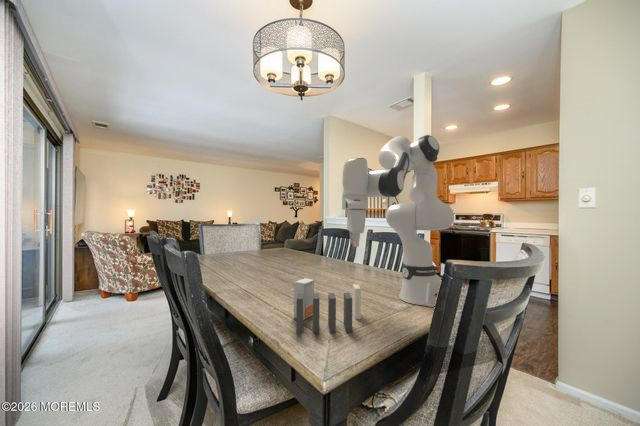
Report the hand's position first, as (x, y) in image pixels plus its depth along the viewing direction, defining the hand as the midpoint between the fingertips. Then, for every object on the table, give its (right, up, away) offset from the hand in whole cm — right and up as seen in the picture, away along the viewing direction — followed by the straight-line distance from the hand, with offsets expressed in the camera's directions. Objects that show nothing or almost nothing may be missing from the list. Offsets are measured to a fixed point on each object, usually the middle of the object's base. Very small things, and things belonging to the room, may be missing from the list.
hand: (354, 245), depth 87 cm
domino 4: (-3, -24, -11) cm, 26 cm away
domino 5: (+1, -24, -1) cm, 24 cm away
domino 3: (-8, -24, -11) cm, 28 cm away
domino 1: (-18, -24, -11) cm, 32 cm away
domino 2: (-13, -24, -11) cm, 29 cm away
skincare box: (-17, -24, -2) cm, 29 cm away
